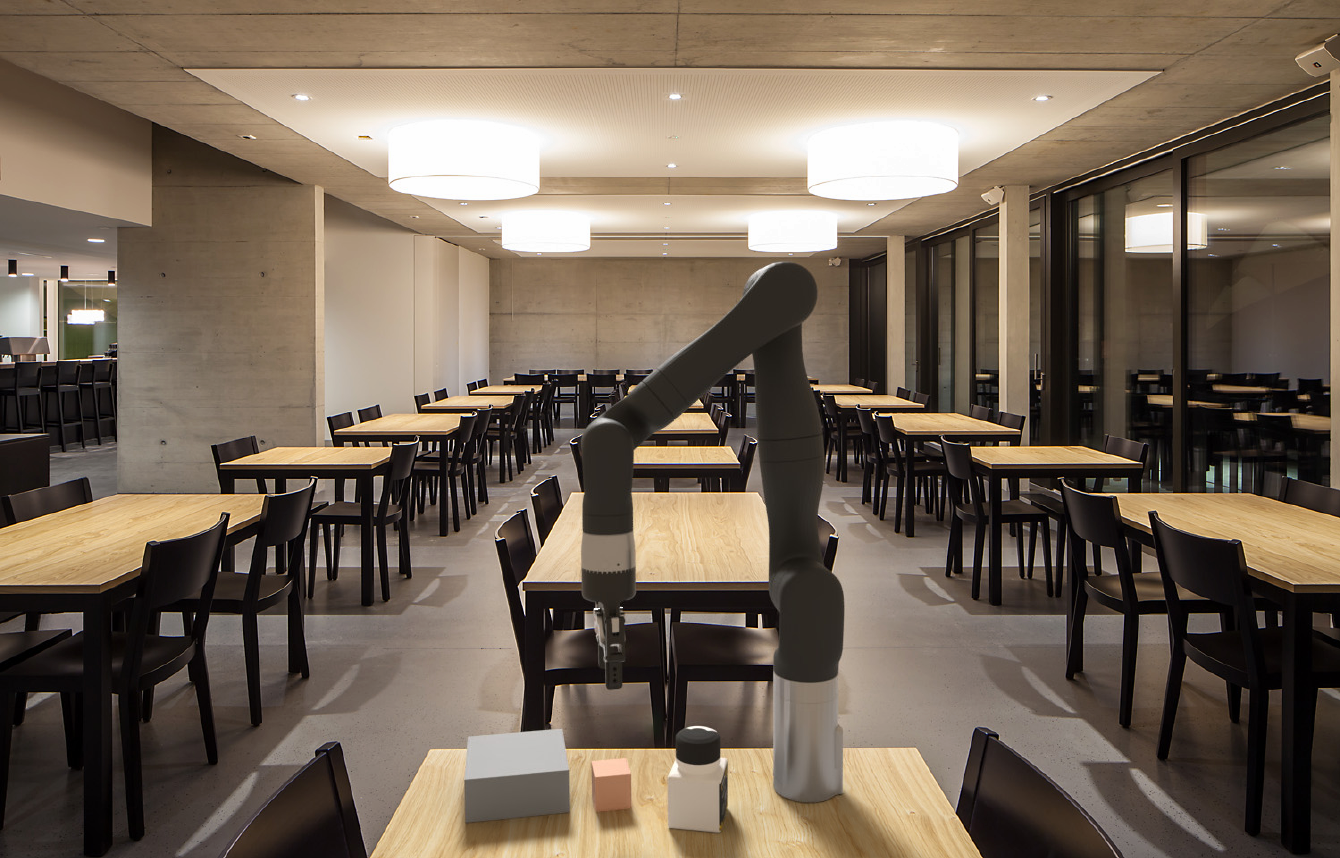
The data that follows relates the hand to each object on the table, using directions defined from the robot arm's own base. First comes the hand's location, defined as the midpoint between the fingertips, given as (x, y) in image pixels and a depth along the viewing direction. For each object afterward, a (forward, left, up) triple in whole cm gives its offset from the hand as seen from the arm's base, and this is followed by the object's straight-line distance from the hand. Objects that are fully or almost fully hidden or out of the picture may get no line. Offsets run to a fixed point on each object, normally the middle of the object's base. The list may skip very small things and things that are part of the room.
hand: (610, 677), depth 122 cm
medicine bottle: (-11, +7, -18) cm, 22 cm away
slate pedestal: (+13, -5, -18) cm, 23 cm away
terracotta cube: (0, 0, -18) cm, 18 cm away
